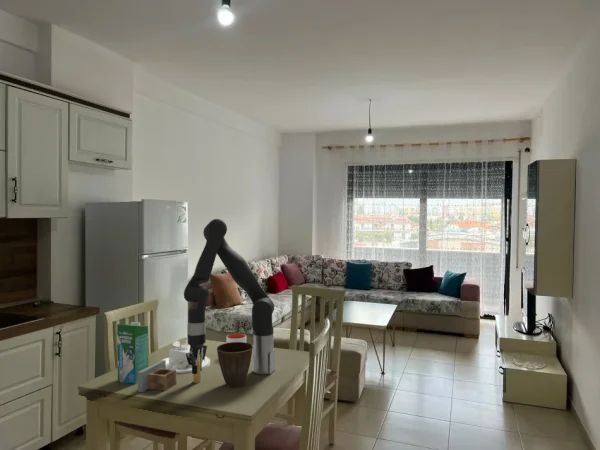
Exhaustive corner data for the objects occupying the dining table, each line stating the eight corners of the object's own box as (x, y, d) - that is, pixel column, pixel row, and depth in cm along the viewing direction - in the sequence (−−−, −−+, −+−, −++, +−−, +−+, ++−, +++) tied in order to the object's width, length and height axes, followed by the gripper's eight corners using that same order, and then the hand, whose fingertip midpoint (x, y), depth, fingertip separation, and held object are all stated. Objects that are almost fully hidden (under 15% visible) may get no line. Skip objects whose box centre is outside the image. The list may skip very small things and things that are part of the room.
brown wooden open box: (176, 384, 190) (176, 369, 190) (165, 390, 183) (164, 376, 183) (160, 381, 193) (160, 367, 193) (148, 388, 185) (148, 374, 185)
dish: (147, 364, 216) (147, 341, 216) (194, 353, 233) (194, 332, 233) (171, 378, 198) (171, 352, 198) (220, 365, 215) (220, 341, 215)
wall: (165, 378, 197) (165, 360, 197) (142, 392, 182) (141, 372, 181) (161, 378, 197) (161, 360, 197) (137, 391, 182) (137, 372, 182)
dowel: (201, 381, 194) (201, 353, 194) (198, 383, 191) (198, 355, 191) (195, 380, 195) (195, 352, 195) (191, 382, 192) (191, 354, 192)
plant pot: (238, 394, 179) (238, 354, 179) (209, 387, 187) (209, 349, 186) (259, 382, 192) (259, 344, 192) (231, 376, 200) (231, 340, 199)
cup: (244, 358, 224) (244, 338, 224) (224, 358, 224) (224, 338, 224) (247, 352, 234) (247, 333, 234) (228, 352, 234) (228, 333, 234)
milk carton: (148, 377, 199) (148, 320, 198) (134, 384, 190) (134, 325, 190) (131, 374, 202) (131, 319, 201) (117, 381, 193) (116, 323, 193)
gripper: (197, 327, 200) (197, 366, 201) (179, 335, 187) (180, 377, 187) (212, 329, 198) (212, 368, 198) (195, 337, 185) (195, 379, 185)
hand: (196, 372), depth 193 cm, fingers closed on dowel, 3 cm apart
